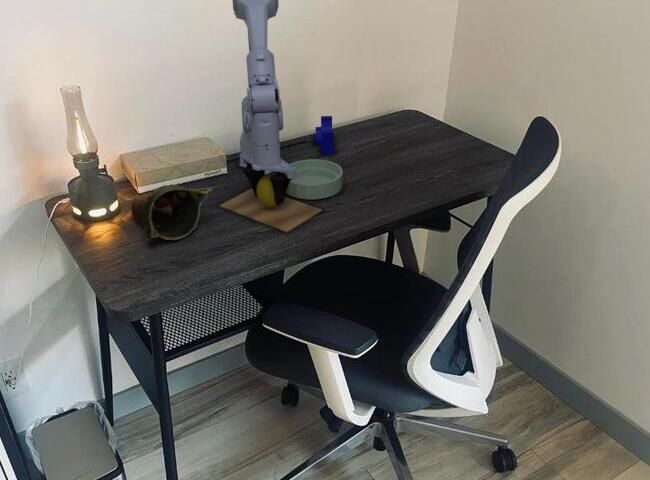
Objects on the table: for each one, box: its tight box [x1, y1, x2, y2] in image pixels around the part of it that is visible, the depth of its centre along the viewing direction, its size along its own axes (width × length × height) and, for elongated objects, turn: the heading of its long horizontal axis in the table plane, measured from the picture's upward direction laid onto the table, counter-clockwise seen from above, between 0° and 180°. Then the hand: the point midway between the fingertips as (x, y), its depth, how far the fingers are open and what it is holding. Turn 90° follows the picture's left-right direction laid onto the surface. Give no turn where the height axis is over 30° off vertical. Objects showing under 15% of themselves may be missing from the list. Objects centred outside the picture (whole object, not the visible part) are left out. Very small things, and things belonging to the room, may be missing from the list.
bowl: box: [286, 158, 344, 200], centre depth 156 cm, size 14×14×4 cm
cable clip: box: [315, 115, 334, 156], centre depth 176 cm, size 12×4×6 cm, turn 179°
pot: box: [130, 183, 213, 241], centre depth 142 cm, size 17×11×18 cm
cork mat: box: [218, 187, 323, 233], centre depth 149 cm, size 20×12×1 cm, turn 51°
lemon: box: [257, 174, 276, 208], centre depth 147 cm, size 6×6×8 cm
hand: (269, 199), depth 148 cm, fingers closed on lemon, 5 cm apart
